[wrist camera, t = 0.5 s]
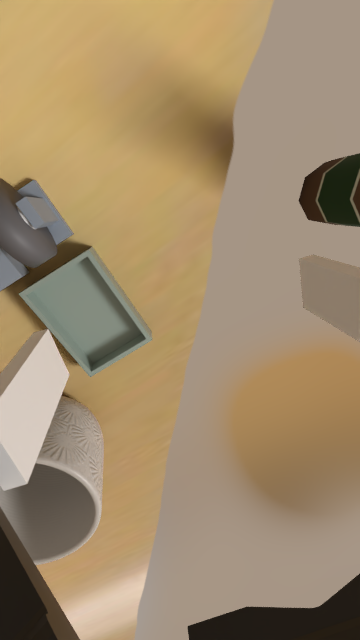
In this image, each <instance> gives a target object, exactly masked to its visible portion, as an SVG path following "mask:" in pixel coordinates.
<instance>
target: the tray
mask: <svg viewBox="0 0 360 640" xmlns="http://www.w3.org/2000/svg"><path fill="white" fill-rule="evenodd" d="M19 295H20V296H21V297H22V299H23V300H24V301H25V302H26V303H27V304H28V306H29V307H30V308H31V309H32V310H33V311H34V313H35V314H36V315H37V316H38V317H39V318H40V320H41V321H42V322H43V323H44V324H45V325H46V326H47V328H48V329H49V330H50V331H51V332H52V333H53V335H54V336H55V337H56V338H57V339H58V340H59V342H60V343H61V344H62V345H63V346H64V347H65V348H66V350H67V351H68V352H69V353H70V354H71V355H72V357H73V358H74V359H75V360H76V361H77V362H78V364H79V365H80V366H81V367H82V368H83V369H84V371H85V372H86V373H87V374H88V375H89V376H90V377H91V376H93V375H95V374H96V373H98V372H100V371H101V370H103V369H105V368H106V367H108V366H110V365H111V364H113V363H115V362H116V361H118V360H120V359H121V358H123V357H125V356H126V355H128V354H130V353H131V352H133V351H135V350H136V349H138V348H140V347H141V346H143V345H145V344H146V343H148V342H150V341H151V340H152V333H151V330H150V329H149V327H148V326H147V324H146V323H145V322H144V320H143V319H142V317H141V316H140V314H139V313H138V311H137V310H136V309H135V307H134V306H133V304H132V303H131V301H130V300H129V299H128V297H127V296H126V294H125V293H124V291H123V290H122V289H121V287H120V286H119V284H118V283H117V281H116V280H115V278H114V277H113V276H112V274H111V273H110V271H109V270H108V268H107V267H106V266H105V264H104V263H103V261H102V260H101V258H100V257H99V256H98V254H97V253H96V251H95V250H94V248H93V247H90V248H89V249H87V250H86V251H84V252H83V253H81V254H79V255H78V256H76V257H75V258H73V259H72V260H70V261H68V262H67V263H65V264H64V265H62V266H61V267H59V268H57V269H56V270H54V271H53V272H51V273H49V274H48V275H46V276H45V277H43V278H42V279H40V280H38V281H37V282H35V283H34V284H32V285H31V286H29V287H27V288H26V289H25V290H23V291H22V292H21V293H19Z"/></svg>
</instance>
